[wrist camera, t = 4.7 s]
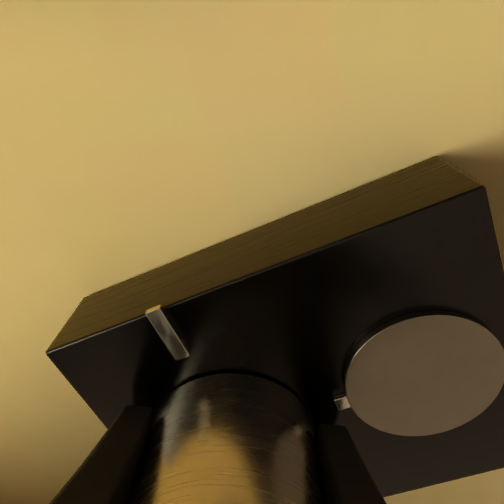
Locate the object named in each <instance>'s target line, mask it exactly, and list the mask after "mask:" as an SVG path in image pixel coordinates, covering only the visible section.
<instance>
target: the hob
mask: <svg viewBox="0 0 504 504" xmlns="http://www.w3.org/2000/svg"><path fill="white" fill-rule="evenodd" d="M431 310H439V311H450V312H456V313H460V314H463V315H466V316H469V317H471V318H473V319H476V320H477V321H479V322H480V323H482V324H484V325H485V326H486V327H487V328H488V329H489V330H491V332H492V333H493V334H494V335H495V336H496V338H497V339H498V340H499V342H500V343H501V345H502V347H503V349H504V272H503V267H502V263H501V258H500V253H499V249H498V244H497V239H496V234H495V230H494V225H493V220H492V216H491V211H490V206H489V202H488V197H487V192H486V187H485V186H484V185H483V184H481V183H480V182H478V181H476V180H475V179H473V178H472V177H470V176H469V175H467V174H465V173H464V172H462V171H461V170H459V169H457V168H456V167H454V166H453V165H451V164H449V163H448V162H446V161H445V160H443V159H441V158H440V157H438V156H435V157H433V158H430V159H428V160H426V161H423V162H421V163H418V164H416V165H413V166H411V167H408V168H406V169H403V170H401V171H398V172H396V173H393V174H391V175H388V176H386V177H383V178H381V179H378V180H376V181H373V182H371V183H368V184H366V185H363V186H361V187H358V188H356V189H353V190H351V191H348V192H346V193H343V194H341V195H339V196H336V197H334V198H331V199H329V200H326V201H324V202H321V203H319V204H316V205H314V206H311V207H309V208H306V209H304V210H301V211H299V212H296V213H294V214H291V215H289V216H286V217H284V218H281V219H279V220H276V221H274V222H271V223H269V224H266V225H264V226H261V227H259V228H257V229H254V230H252V231H249V232H247V233H244V234H242V235H239V236H237V237H234V238H232V239H229V240H227V241H224V242H222V243H219V244H217V245H214V246H212V247H209V248H207V249H204V250H202V251H199V252H197V253H194V254H192V255H189V256H187V257H184V258H182V259H179V260H177V261H174V262H172V263H170V264H167V265H165V266H162V267H160V268H157V269H155V270H152V271H150V272H147V273H145V274H142V275H140V276H137V277H135V278H132V279H130V280H127V281H125V282H122V283H120V284H117V285H115V286H112V287H110V288H107V289H105V290H102V291H100V292H97V293H95V294H92V295H90V296H87V297H85V298H84V299H83V300H82V301H81V303H80V304H79V306H78V307H77V308H76V310H75V311H74V313H73V314H72V316H71V317H70V318H69V320H68V321H67V323H66V324H65V325H64V327H63V328H62V330H61V331H60V332H59V334H58V335H57V337H56V338H55V339H54V341H53V342H52V344H51V345H50V347H49V348H48V349H47V351H46V355H47V356H48V357H49V358H50V360H51V361H52V362H53V363H54V364H55V366H56V367H57V368H58V369H59V370H60V372H61V373H62V374H63V375H64V377H65V378H66V379H67V380H68V381H69V383H70V384H71V385H72V386H73V387H74V389H75V390H76V391H77V392H78V393H79V395H80V396H81V397H82V398H83V399H84V401H85V402H86V403H87V404H88V406H89V407H90V408H91V409H92V410H93V412H94V413H95V414H96V415H97V416H98V418H99V419H100V420H101V421H102V422H103V424H104V425H105V426H106V427H107V429H109V427H110V426H111V424H112V423H113V421H114V420H115V418H116V417H117V415H118V414H119V412H120V411H121V409H122V408H123V407H125V406H126V405H131V406H141V407H152V430H153V426H154V423H155V419H156V416H157V413H158V411H159V408H160V406H161V405H162V403H163V402H164V401H165V399H166V398H167V397H168V396H169V395H170V394H171V393H172V392H173V391H175V390H176V389H177V388H179V387H180V386H182V385H184V384H186V383H187V382H189V381H192V380H194V379H197V378H200V377H204V376H207V375H213V374H219V373H242V374H249V375H254V376H258V377H262V378H265V379H268V380H270V381H273V382H275V383H277V384H279V385H281V386H283V387H284V388H286V389H287V390H289V391H290V392H292V393H293V394H294V395H295V396H296V397H297V398H298V399H299V400H300V401H301V402H302V403H303V405H304V406H305V408H306V409H307V411H308V412H309V415H310V417H311V419H312V423H313V428H314V436H315V440H316V436H317V432H318V428H319V424H329V425H339V426H345V427H346V428H347V429H348V431H349V433H350V435H351V437H352V440H353V442H354V444H355V446H356V448H357V450H358V452H359V454H360V456H361V458H362V460H363V462H364V463H365V465H366V467H367V469H368V471H369V473H370V475H371V477H372V479H373V480H374V482H375V484H376V486H377V488H378V490H379V491H380V493H381V495H382V497H387V496H391V495H395V494H399V493H403V492H407V491H411V490H415V489H419V488H423V487H427V486H431V485H435V484H439V483H443V482H448V481H452V480H456V479H460V478H464V477H468V476H472V475H476V474H480V473H484V472H488V471H492V470H496V469H500V468H504V384H503V386H502V389H501V390H500V392H499V394H498V396H497V397H496V398H495V399H494V401H493V402H492V403H491V404H490V405H489V406H488V407H487V408H486V409H485V410H484V411H483V412H482V413H481V414H479V415H478V416H477V417H475V418H474V419H472V420H470V421H469V422H467V423H465V424H463V425H461V426H459V427H456V428H454V429H452V430H448V431H445V432H442V433H437V434H433V435H426V436H401V435H394V434H390V433H386V432H383V431H381V430H378V429H376V428H374V427H372V426H370V425H369V424H367V423H366V422H364V421H363V420H362V419H361V418H359V417H358V416H357V415H356V413H355V412H354V411H353V410H352V408H351V406H350V404H349V403H348V400H347V397H346V394H345V389H344V371H345V367H346V364H347V361H348V359H349V357H350V355H351V353H352V351H353V350H354V349H355V347H356V346H357V344H358V343H359V342H360V341H361V340H362V339H363V338H364V337H365V336H366V335H368V334H369V333H370V332H371V331H373V330H374V329H376V328H377V327H379V326H380V325H382V324H384V323H386V322H388V321H390V320H392V319H394V318H397V317H400V316H403V315H406V314H410V313H414V312H420V311H431Z"/></svg>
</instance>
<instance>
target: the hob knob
mask: <svg viewBox="0 0 504 504" xmlns="http://www.w3.org/2000/svg"><path fill="white" fill-rule="evenodd" d="M131 504H323V496H322V489H321V481H320V474H319V466H318V458H317V451H316V443H315V436H314V428H313V423H312V419H311V417H310V415H309V412H308V411H307V409H306V408H305V406H304V405H303V403H302V402H301V401H300V400H299V399H298V398H297V397H296V396H295V395H294V394H293V393H292V392H290V391H289V390H287V389H286V388H284V387H283V386H281V385H279V384H277V383H275V382H273V381H270V380H268V379H265V378H262V377H258V376H254V375H249V374H242V373H219V374H213V375H207V376H204V377H200V378H197V379H194V380H192V381H189V382H187V383H186V384H184V385H182V386H180V387H179V388H177V389H176V390H175V391H173V392H172V393H171V394H170V395H169V396H168V397H167V398H166V399H165V401H164V402H163V403H162V405H161V406H160V408H159V411H158V413H157V416H156V419H155V423H154V426H153V430H152V433H151V437H150V440H149V444H148V447H147V451H146V454H145V458H144V461H143V465H142V468H141V472H140V475H139V479H138V482H137V486H136V489H135V493H134V496H133V499H132V503H131Z"/></svg>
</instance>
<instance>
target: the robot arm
mask: <svg viewBox="0 0 504 504" xmlns="http://www.w3.org/2000/svg"><path fill="white" fill-rule="evenodd" d="M151 433H152V407H141V406H131V405H126V406H125V407H123V408H122V409H121V411H120V412H119V414H118V415H117V417H116V418H115V420H114V421H113V423H112V424H111V426H110V427H109V429H108V430H107V431H106V433H105V434H104V436H103V437H102V438H101V440H100V441H99V442H98V444H97V445H96V446H95V448H94V449H93V450H92V452H91V453H90V454H89V456H88V457H87V458H86V460H85V461H84V462H83V463H82V465H81V466H80V467H79V468H78V470H77V471H76V472H75V473H74V475H73V476H72V477H71V478H70V480H69V481H68V482H67V483H66V485H65V486H64V487H63V488H62V489H61V491H60V492H59V493H58V494H57V495H56V496H55V498H54V499H53V500H52V501H51V502H50V503H49V504H131V503H132V499H133V496H134V493H135V489H136V486H137V482H138V479H139V475H140V472H141V468H142V465H143V461H144V458H145V454H146V451H147V447H148V444H149V440H150V437H151ZM315 443H316V451H317V458H318V466H319V474H320V481H321V489H322V496H323V504H386V502H385V500H384V498H383V497H382V495H381V493H380V491H379V490H378V488H377V486H376V484H375V482H374V480H373V479H372V477H371V475H370V473H369V471H368V469H367V467H366V465H365V463H364V462H363V460H362V458H361V456H360V454H359V452H358V450H357V448H356V446H355V444H354V442H353V440H352V437H351V435H350V433H349V431H348V429H347V428H346V427H345V426H339V425H329V424H319V428H318V432H317V436H316V440H315Z"/></svg>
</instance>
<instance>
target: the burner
mask: <svg viewBox="0 0 504 504" xmlns="http://www.w3.org/2000/svg"><path fill="white" fill-rule="evenodd" d="M503 384H504V349H503V347H502V345H501V343H500V342H499V340H498V339H497V338H496V336H495V335H494V334H493V333H492V332H491V330H489V329H488V328H487V327H486V326H485V325H484V324H482V323H480V322H479V321H477V320H476V319H473V318H471V317H469V316H466V315H463V314H460V313H456V312H450V311H439V310H431V311H420V312H414V313H410V314H406V315H403V316H400V317H397V318H394V319H392V320H390V321H388V322H386V323H384V324H382V325H380V326H379V327H377V328H376V329H374V330H373V331H371V332H370V333H369V334H368V335H366V336H365V337H364V338H363V339H362V340H361V341H360V342H359V343H358V344H357V346H356V347H355V349H354V350H353V351H352V353H351V355H350V357H349V359H348V361H347V364H346V367H345V371H344V389H345V394H346V397H347V400H348V403H349V404H350V406H351V408H352V410H353V411H354V412H355V413H356V415H357V416H358V417H359V418H361V419H362V420H363V421H364V422H366V423H367V424H369V425H370V426H372V427H374V428H376V429H378V430H381V431H383V432H386V433H390V434H394V435H401V436H426V435H433V434H437V433H442V432H445V431H448V430H452V429H454V428H456V427H459V426H461V425H463V424H465V423H467V422H469V421H470V420H472V419H474V418H475V417H477V416H478V415H479V414H481V413H482V412H483V411H484V410H485V409H486V408H487V407H488V406H489V405H490V404H491V403H492V402H493V401H494V399H495V398H496V397H497V396H498V394H499V392H500V390H501V389H502V386H503Z"/></svg>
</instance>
